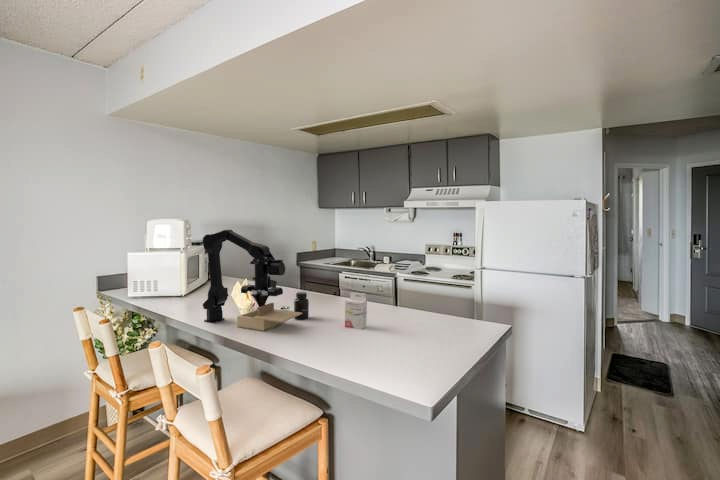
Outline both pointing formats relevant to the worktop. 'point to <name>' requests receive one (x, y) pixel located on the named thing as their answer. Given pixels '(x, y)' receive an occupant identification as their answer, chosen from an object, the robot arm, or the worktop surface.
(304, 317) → the supplement bottle
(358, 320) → the ink cartridge box
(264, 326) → the mailer box
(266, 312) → the lid
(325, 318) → the worktop surface
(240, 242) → the robot arm
